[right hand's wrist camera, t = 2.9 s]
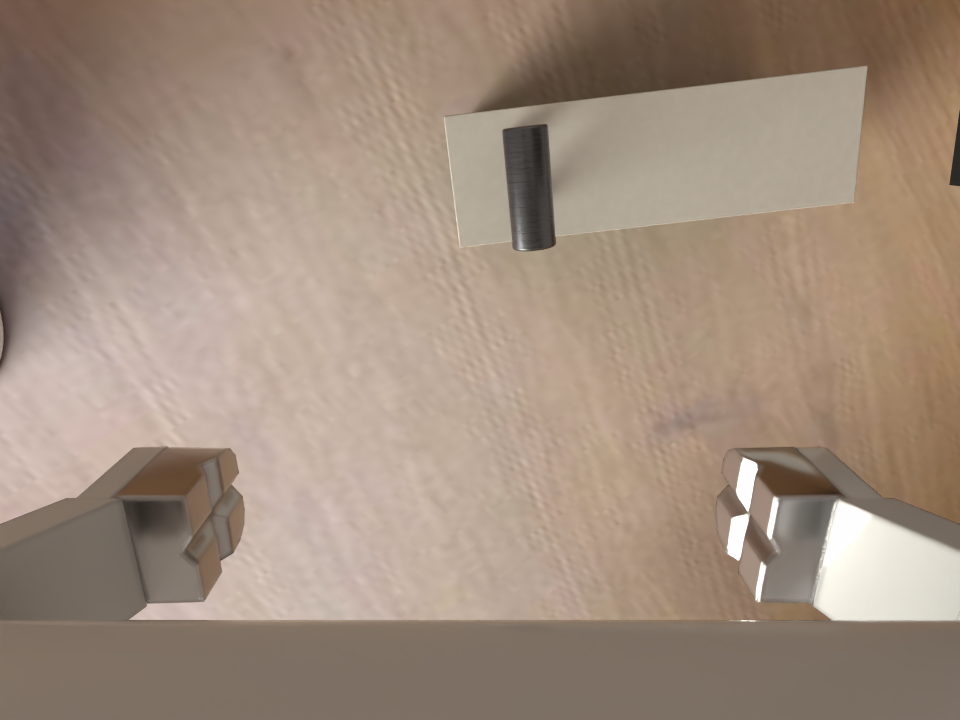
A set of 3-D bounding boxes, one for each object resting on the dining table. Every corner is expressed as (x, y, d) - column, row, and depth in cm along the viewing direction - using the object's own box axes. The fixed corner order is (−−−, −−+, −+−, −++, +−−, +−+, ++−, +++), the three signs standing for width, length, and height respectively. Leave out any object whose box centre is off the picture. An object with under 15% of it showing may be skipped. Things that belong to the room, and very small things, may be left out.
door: (460, 243, 28) (455, 284, 20) (444, 116, 26) (433, 108, 19) (841, 200, 28) (987, 224, 20) (854, 67, 26) (1021, 37, 18)
